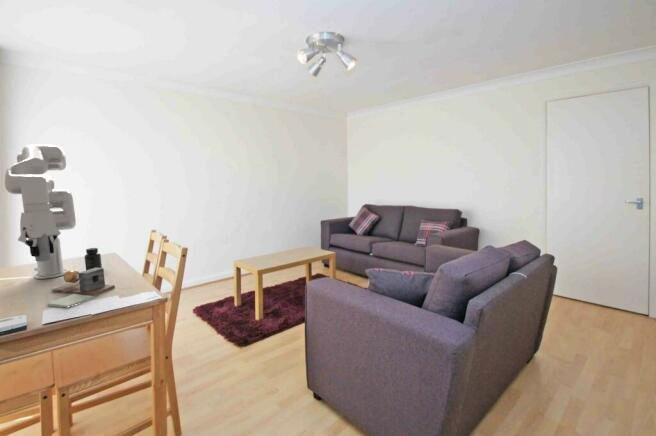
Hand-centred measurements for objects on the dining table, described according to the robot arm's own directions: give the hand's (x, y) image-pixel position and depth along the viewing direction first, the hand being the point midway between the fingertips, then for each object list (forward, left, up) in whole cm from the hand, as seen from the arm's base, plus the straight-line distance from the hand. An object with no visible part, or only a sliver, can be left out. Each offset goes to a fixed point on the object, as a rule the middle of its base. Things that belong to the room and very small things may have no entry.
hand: (42, 254), depth 128 cm
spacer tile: (+10, +1, -19) cm, 21 cm away
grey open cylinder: (0, 0, -3) cm, 3 cm away
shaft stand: (+2, +13, -19) cm, 23 cm away
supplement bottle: (-19, +36, -19) cm, 45 cm away
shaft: (+1, +13, -16) cm, 20 cm away
